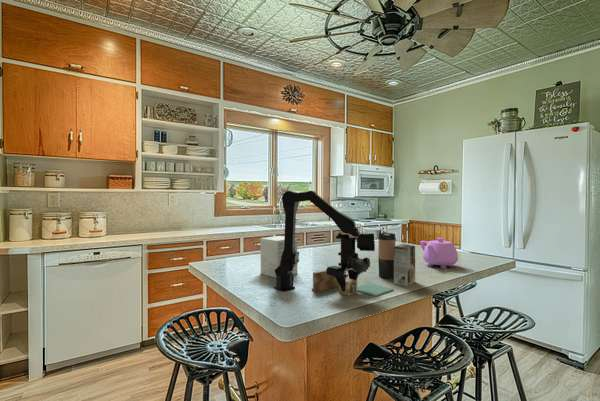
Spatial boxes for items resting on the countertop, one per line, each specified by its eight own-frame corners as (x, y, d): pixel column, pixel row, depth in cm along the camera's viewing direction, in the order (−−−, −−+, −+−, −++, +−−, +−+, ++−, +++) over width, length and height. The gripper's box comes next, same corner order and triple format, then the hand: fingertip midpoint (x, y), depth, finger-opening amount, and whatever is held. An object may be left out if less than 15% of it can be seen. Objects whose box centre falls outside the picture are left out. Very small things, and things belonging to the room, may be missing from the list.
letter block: (349, 295, 120) (349, 282, 120) (338, 292, 124) (338, 279, 124) (357, 293, 123) (357, 280, 123) (347, 290, 128) (347, 277, 127)
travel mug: (398, 278, 146) (399, 234, 145) (385, 279, 143) (385, 235, 143) (388, 274, 153) (388, 232, 152) (375, 275, 150) (375, 233, 150)
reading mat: (375, 296, 119) (375, 295, 119) (350, 289, 128) (350, 288, 128) (393, 290, 127) (393, 288, 127) (369, 284, 136) (369, 282, 136)
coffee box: (401, 279, 143) (401, 243, 143) (415, 282, 139) (415, 245, 139) (393, 284, 136) (393, 246, 136) (408, 286, 132) (408, 247, 132)
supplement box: (298, 273, 154) (298, 237, 154) (277, 278, 145) (277, 240, 145) (280, 269, 164) (280, 235, 164) (259, 273, 155) (259, 237, 154)
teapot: (408, 265, 171) (408, 237, 171) (427, 260, 184) (427, 234, 184) (444, 272, 156) (445, 241, 156) (462, 266, 169) (462, 238, 169)
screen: (317, 293, 124) (317, 273, 124) (310, 290, 127) (310, 271, 127) (348, 284, 136) (348, 266, 135) (341, 282, 139) (341, 265, 138)
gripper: (347, 256, 111) (347, 300, 112) (379, 250, 124) (379, 290, 124) (325, 252, 120) (325, 293, 120) (357, 246, 132) (357, 284, 132)
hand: (347, 290), depth 124 cm, fingers closed on letter block, 5 cm apart
